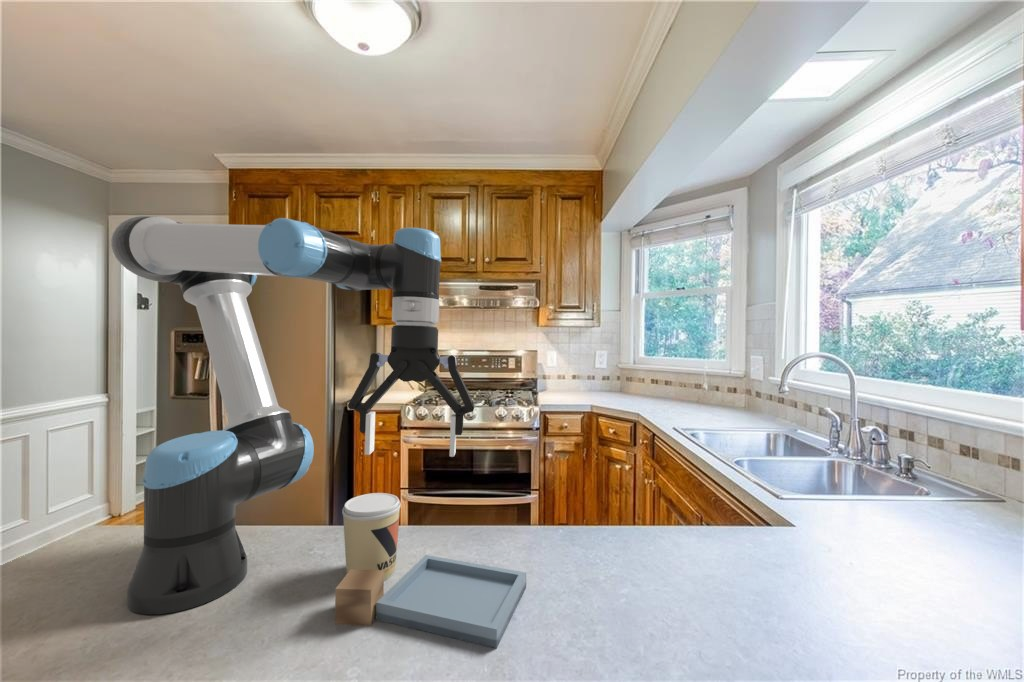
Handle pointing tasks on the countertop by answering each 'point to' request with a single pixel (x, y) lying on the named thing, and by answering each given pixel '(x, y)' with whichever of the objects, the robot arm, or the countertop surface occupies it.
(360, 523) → the coffee cup
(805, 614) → the countertop surface
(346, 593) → the walnut block
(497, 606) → the collection tray
